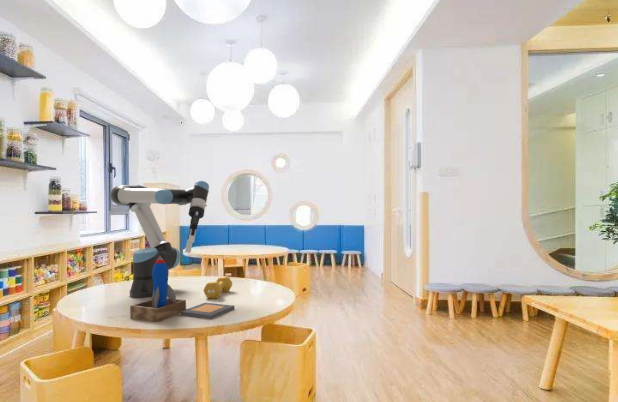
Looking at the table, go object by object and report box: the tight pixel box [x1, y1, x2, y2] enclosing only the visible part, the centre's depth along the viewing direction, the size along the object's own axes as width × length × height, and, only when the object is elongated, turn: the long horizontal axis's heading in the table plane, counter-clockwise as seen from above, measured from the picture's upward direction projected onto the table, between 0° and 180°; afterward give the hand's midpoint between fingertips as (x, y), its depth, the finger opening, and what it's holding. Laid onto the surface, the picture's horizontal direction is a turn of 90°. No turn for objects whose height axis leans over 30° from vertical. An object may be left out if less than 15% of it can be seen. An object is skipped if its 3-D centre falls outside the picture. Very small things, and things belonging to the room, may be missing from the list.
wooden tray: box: [129, 297, 187, 323], centre depth 165 cm, size 15×16×5 cm
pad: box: [179, 302, 235, 320], centre depth 168 cm, size 16×16×2 cm
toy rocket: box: [151, 256, 177, 308], centre depth 165 cm, size 11×10×25 cm
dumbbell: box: [203, 275, 233, 300], centre depth 200 cm, size 19×9×8 cm, turn 170°
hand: (189, 247), depth 189 cm, fingers open, 13 cm apart
